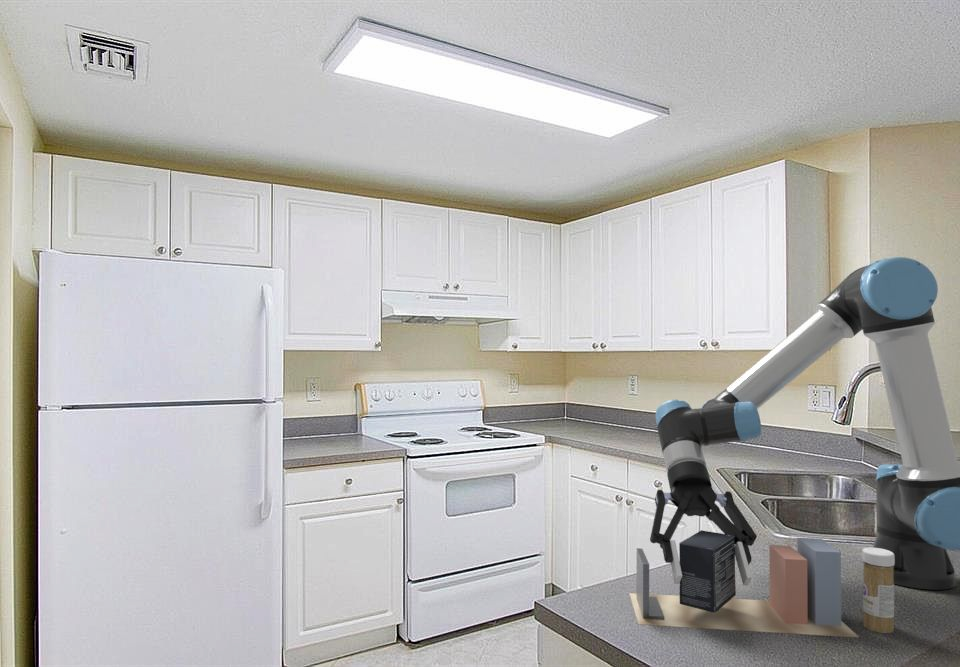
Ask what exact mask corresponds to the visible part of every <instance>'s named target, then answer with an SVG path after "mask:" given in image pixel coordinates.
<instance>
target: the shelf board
mask: <svg viewBox="0 0 960 667" xmlns="http://www.w3.org/2000/svg"><path fill="white" fill-rule="evenodd" d="M628 594H629V597H630V600H631V604H632V606H633V610H634V613H635V617H636V621H637V623H638V625H641V626H655V627H656V626H659V627H673V628H674V627H675V628H690V629H691V628H692V629H693V628H694V629H709V630H726V631H740V632H741V631H743V632H757V633H758V632H760V633H774V634H775V633H776V634H794V635H808V636H809V635H810V636H827V637H842V638H843V637H845V638H859V635H858V634H856V633H855V632H854V631H853V630H852V629H851V628H850V627H848V625H847V624H845V623H844V622H843V621H842V620H841V626H827V625H815V624H814V623H813V622H812V621H811V620H810V618H809V617H808V624H792V623H785V622H784V621H783V620H782V619H781V617H780V616H779V615H778V614H777V613H776V612H775V610H774V609H773V608H772V607H771V606H770V600H767V599H766V600H765V599H764V600H763V599H745V598H742V599H741V598H732V599H731V600H729V601H728V602H727V603H726V604H725V605H724V606H723V607H721V608H720V609H719V610H718V611H717V612H716V613H713V612H709V611H705V610H701V609H697V608H694V607H690V606H686V605H682V604H680V595H673V594H672V595H671V594H653V593H651V594H650V593H649V596H652V597H657V600H658V602H659V605H660V607H661V609H662V612H663V614H664V620H661V619H644V618H643V617H642V614H641V611H640V608H639V605H638V602H637V599H636V593H634V592H631V593H630V592H629V593H628Z"/></svg>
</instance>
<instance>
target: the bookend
mask: <svg viewBox="0 0 960 667" xmlns="http://www.w3.org/2000/svg"><path fill="white" fill-rule="evenodd" d="M649 594H650V563H649V561H648V558H647V556H646V553H645V551H644V549H643V548H636V599H637V602H638V605H639V608H640V611H641V614H642V617H643V618H644V619H661V620H664V614H663V612H662V609H661V607H660V605H659V602H658V600H657V597H652V596H649Z"/></svg>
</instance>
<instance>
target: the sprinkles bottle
mask: <svg viewBox="0 0 960 667" xmlns="http://www.w3.org/2000/svg"><path fill="white" fill-rule="evenodd" d="M861 560H862V563H863V583H862V584H863V585H862V586H863V587H862V589H863V590H862V595H863V597H862V598H863V599H862V610H863V618H862V620H863V627H865V628H866V629H867V630H870V631H873V632H877V633H883V634H891V633H893V632H894V630H895V629H894V621H895V620H894V618H895V584H894V581H893V580H894V579H893V578H894V577H893V575H894V574H893V573H894V571H893V568H894V565H895V556H894V553H893V552H891V551H889V550H885V549H881V548H873V546H872V547H871V546H869V547H864V548H862V550H861Z"/></svg>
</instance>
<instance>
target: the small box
mask: <svg viewBox="0 0 960 667" xmlns="http://www.w3.org/2000/svg"><path fill="white" fill-rule="evenodd" d="M678 545H679V547H678V548H679V549H678V550H679V553H678V557H679V562H680V567H681V572H682V578H681V580H680V583H679V596H680V604H682V605H686V606H690V607H694V608H697V609H701V610H705V611H709V612H713V613H716V612H717V611H718V610H719V609H720V608H721V607H723V606H724V605H725V604H726V603H727V602H728V601H729V600H731V599H734V598H735V596H737V593H736V590H737V589H736V565H735V564H736V557H735V546H736V545H735V536H734V535H727V534H724V533H720V532H714V531H708V530H700V531H698V532H696V533H694V534H693V535H691V536H689V537H687V538H686V539H684V540H683V541H680V542H679V544H678Z"/></svg>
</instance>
